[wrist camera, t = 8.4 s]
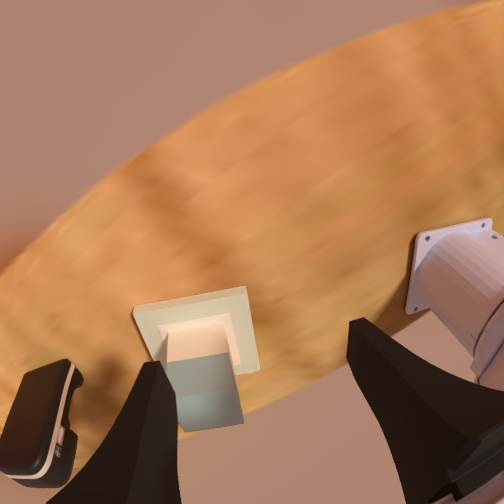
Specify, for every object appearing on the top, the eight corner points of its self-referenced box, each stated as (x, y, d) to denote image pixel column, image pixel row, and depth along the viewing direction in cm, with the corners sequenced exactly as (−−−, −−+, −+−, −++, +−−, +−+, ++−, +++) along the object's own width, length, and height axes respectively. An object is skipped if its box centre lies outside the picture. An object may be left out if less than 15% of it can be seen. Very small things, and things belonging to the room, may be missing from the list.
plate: (245, 285, 22) (247, 293, 21) (258, 362, 26) (260, 371, 25) (134, 305, 22) (132, 314, 21) (166, 378, 25) (166, 387, 25)
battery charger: (48, 396, 25) (24, 492, 15) (22, 371, 23) (-11, 470, 13) (96, 382, 25) (77, 495, 15) (69, 354, 23) (37, 471, 13)
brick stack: (223, 322, 22) (233, 388, 17) (232, 360, 24) (244, 423, 19) (168, 332, 22) (165, 398, 17) (183, 369, 24) (184, 432, 19)
